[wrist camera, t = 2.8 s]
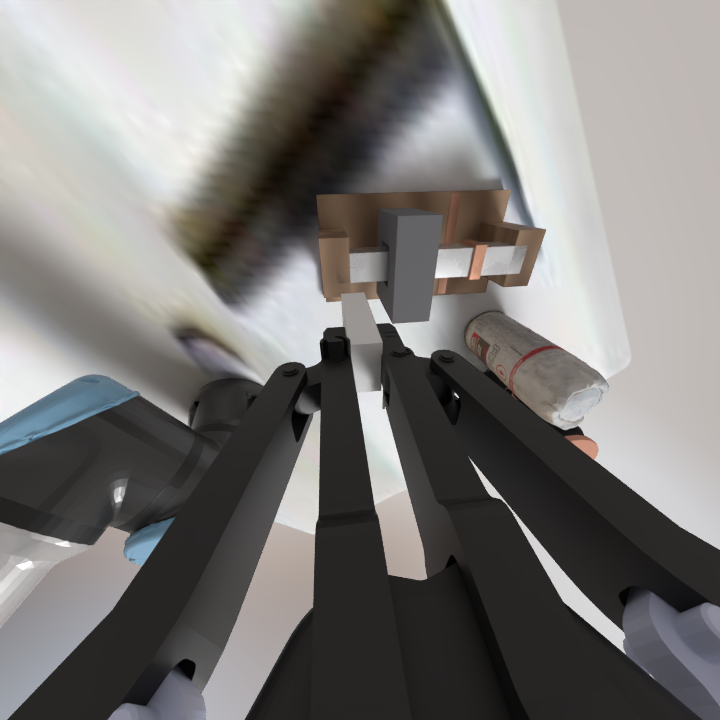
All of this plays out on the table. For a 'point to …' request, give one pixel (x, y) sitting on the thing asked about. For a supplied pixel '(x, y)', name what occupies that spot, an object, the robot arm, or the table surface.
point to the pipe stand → (460, 222)
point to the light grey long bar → (442, 261)
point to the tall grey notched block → (408, 262)
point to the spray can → (536, 369)
